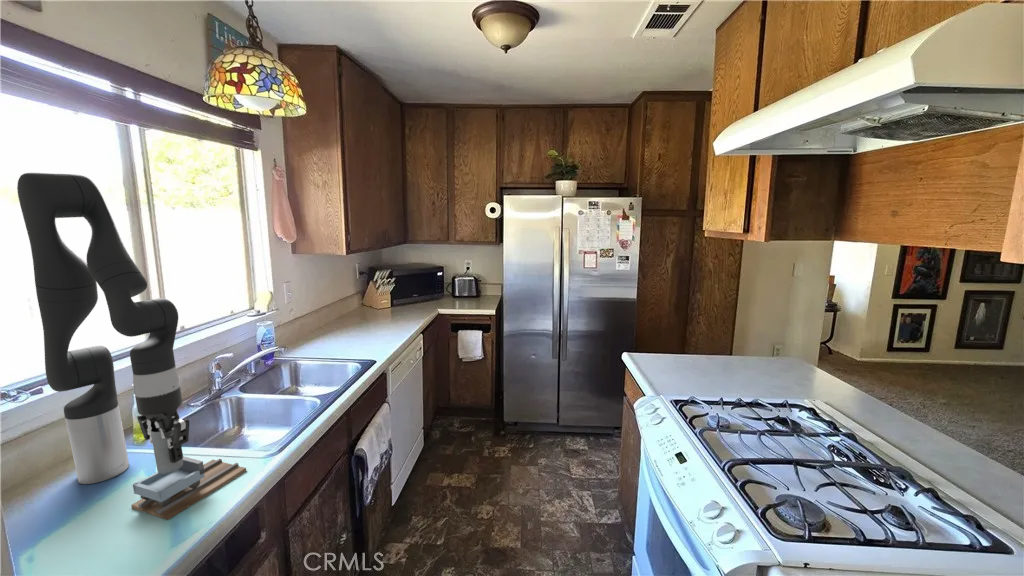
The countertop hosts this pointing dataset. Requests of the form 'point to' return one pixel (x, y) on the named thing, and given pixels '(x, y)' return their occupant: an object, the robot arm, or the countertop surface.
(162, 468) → the grey cylindrical cup
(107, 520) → the countertop surface
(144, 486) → the grey open box
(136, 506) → the rail board
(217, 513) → the countertop surface
